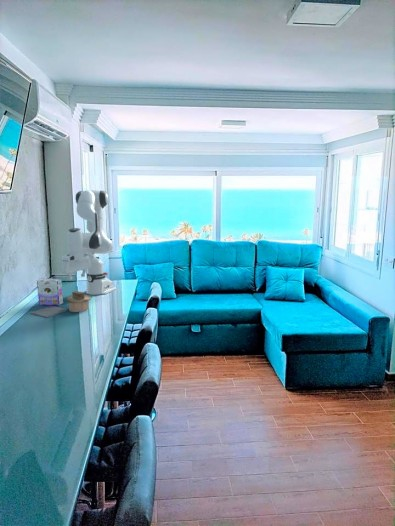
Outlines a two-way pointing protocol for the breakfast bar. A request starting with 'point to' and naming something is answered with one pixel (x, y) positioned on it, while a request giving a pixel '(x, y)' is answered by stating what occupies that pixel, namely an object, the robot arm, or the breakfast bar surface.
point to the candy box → (50, 291)
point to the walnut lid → (78, 297)
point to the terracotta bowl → (78, 306)
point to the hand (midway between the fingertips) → (77, 278)
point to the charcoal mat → (49, 311)
